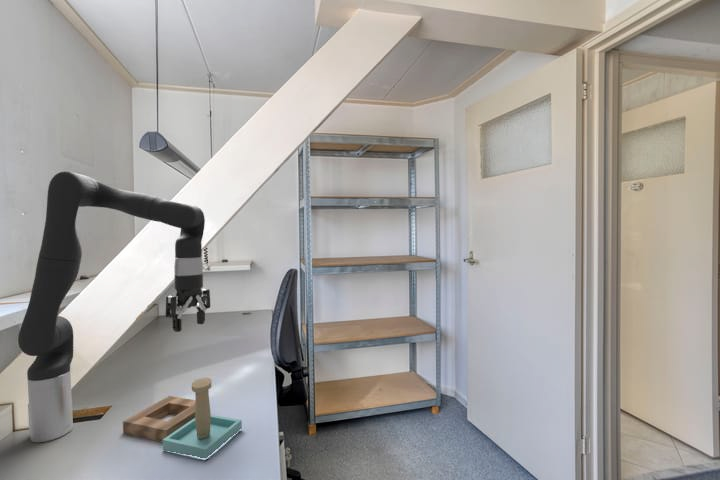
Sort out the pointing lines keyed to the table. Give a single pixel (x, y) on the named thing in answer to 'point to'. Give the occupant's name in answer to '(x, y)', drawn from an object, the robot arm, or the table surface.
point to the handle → (202, 407)
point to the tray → (191, 445)
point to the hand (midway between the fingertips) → (189, 327)
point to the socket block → (149, 418)
